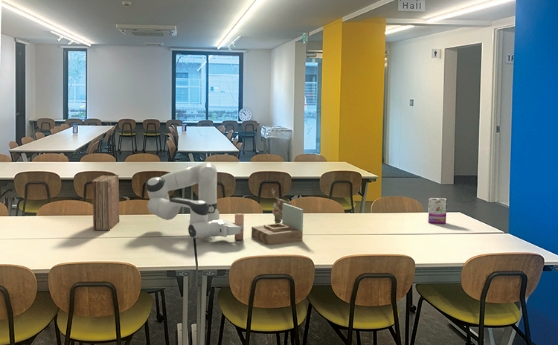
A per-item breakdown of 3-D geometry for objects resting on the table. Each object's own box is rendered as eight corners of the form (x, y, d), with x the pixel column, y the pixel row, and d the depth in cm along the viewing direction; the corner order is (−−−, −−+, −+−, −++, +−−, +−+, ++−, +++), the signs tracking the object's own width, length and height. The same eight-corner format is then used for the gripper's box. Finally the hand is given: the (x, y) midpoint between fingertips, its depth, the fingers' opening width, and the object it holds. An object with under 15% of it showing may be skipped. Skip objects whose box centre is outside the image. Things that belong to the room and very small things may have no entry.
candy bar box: (444, 222, 364) (446, 198, 362) (445, 224, 359) (447, 199, 357) (427, 221, 366) (428, 197, 364) (428, 223, 361) (429, 198, 359)
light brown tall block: (233, 238, 311) (233, 213, 309) (240, 237, 313) (241, 213, 311) (236, 240, 306) (237, 215, 305) (244, 239, 309) (245, 214, 307)
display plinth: (251, 237, 316) (251, 206, 314) (284, 232, 327) (284, 203, 325) (268, 245, 299) (269, 212, 297) (302, 240, 310) (303, 209, 308)
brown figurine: (295, 227, 338) (289, 187, 334) (278, 232, 331) (272, 191, 327) (285, 225, 347) (279, 186, 343) (268, 230, 340) (262, 190, 337)
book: (109, 231, 323) (108, 180, 319) (93, 231, 322) (91, 180, 318) (119, 221, 348) (118, 174, 344) (104, 221, 347) (103, 174, 343)
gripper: (210, 229, 312) (232, 227, 319) (225, 237, 294) (248, 234, 301) (210, 218, 311) (232, 216, 318) (225, 226, 293) (248, 223, 300)
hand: (240, 225), depth 309 cm, fingers closed on light brown tall block, 5 cm apart
